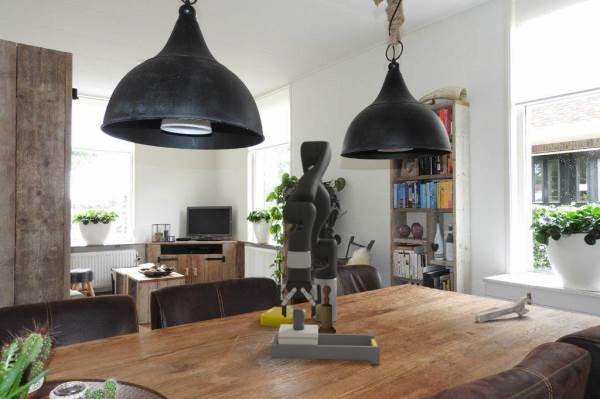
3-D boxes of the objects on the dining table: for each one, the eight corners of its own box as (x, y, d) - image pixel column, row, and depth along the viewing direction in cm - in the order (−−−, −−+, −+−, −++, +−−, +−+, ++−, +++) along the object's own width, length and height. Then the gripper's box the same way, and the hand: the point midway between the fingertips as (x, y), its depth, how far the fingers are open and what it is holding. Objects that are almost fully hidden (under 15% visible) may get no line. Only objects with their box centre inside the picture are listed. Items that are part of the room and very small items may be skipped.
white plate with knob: (280, 345, 135) (280, 305, 135) (318, 346, 134) (318, 306, 134) (277, 356, 125) (278, 313, 126) (318, 356, 125) (318, 313, 125)
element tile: (273, 316, 177) (273, 305, 177) (307, 319, 172) (307, 308, 172) (258, 326, 163) (258, 313, 163) (294, 330, 158) (294, 317, 158)
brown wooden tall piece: (320, 339, 145) (320, 288, 146) (315, 333, 152) (315, 284, 152) (338, 337, 147) (338, 287, 147) (332, 332, 153) (332, 283, 154)
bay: (276, 348, 136) (276, 332, 136) (373, 349, 135) (373, 334, 135) (271, 362, 124) (272, 345, 124) (379, 364, 123) (379, 347, 123)
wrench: (475, 328, 169) (529, 313, 180) (479, 329, 167) (533, 314, 178) (473, 309, 169) (527, 295, 179) (477, 310, 167) (531, 296, 178)
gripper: (321, 264, 134) (321, 314, 133) (277, 263, 134) (277, 313, 134) (321, 267, 126) (321, 320, 126) (275, 266, 127) (274, 320, 126)
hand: (298, 317), depth 130 cm, fingers open, 8 cm apart
